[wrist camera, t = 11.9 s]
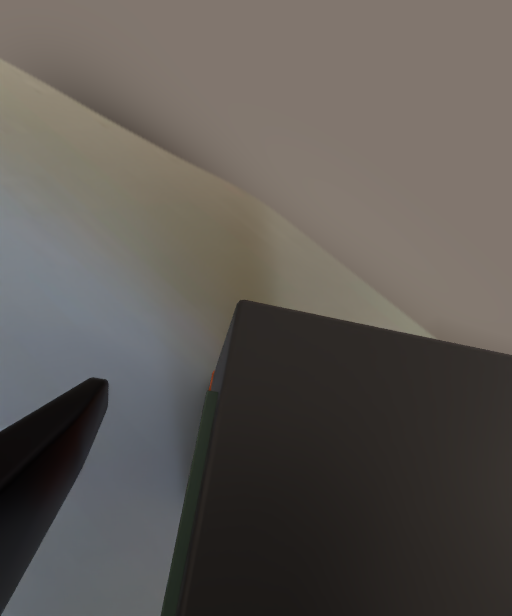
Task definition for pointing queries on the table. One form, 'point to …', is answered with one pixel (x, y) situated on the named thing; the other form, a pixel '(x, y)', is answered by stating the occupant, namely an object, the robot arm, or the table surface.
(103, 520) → the table surface
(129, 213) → the table surface
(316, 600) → the laser measure
